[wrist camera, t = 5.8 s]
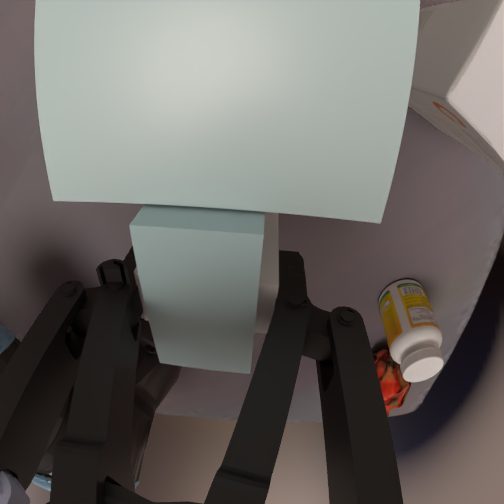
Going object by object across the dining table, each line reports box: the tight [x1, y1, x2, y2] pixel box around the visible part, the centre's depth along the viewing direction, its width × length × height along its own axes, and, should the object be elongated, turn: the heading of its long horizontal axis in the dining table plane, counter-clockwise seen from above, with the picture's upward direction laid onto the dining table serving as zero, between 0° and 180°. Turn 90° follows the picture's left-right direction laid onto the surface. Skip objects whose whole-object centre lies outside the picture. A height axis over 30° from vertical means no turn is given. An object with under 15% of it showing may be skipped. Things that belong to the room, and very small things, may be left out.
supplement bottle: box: [378, 279, 443, 382], centre depth 27 cm, size 5×5×10 cm
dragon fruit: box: [373, 347, 411, 417], centre depth 35 cm, size 8×8×12 cm
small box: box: [408, 0, 504, 174], centre depth 13 cm, size 8×6×13 cm
